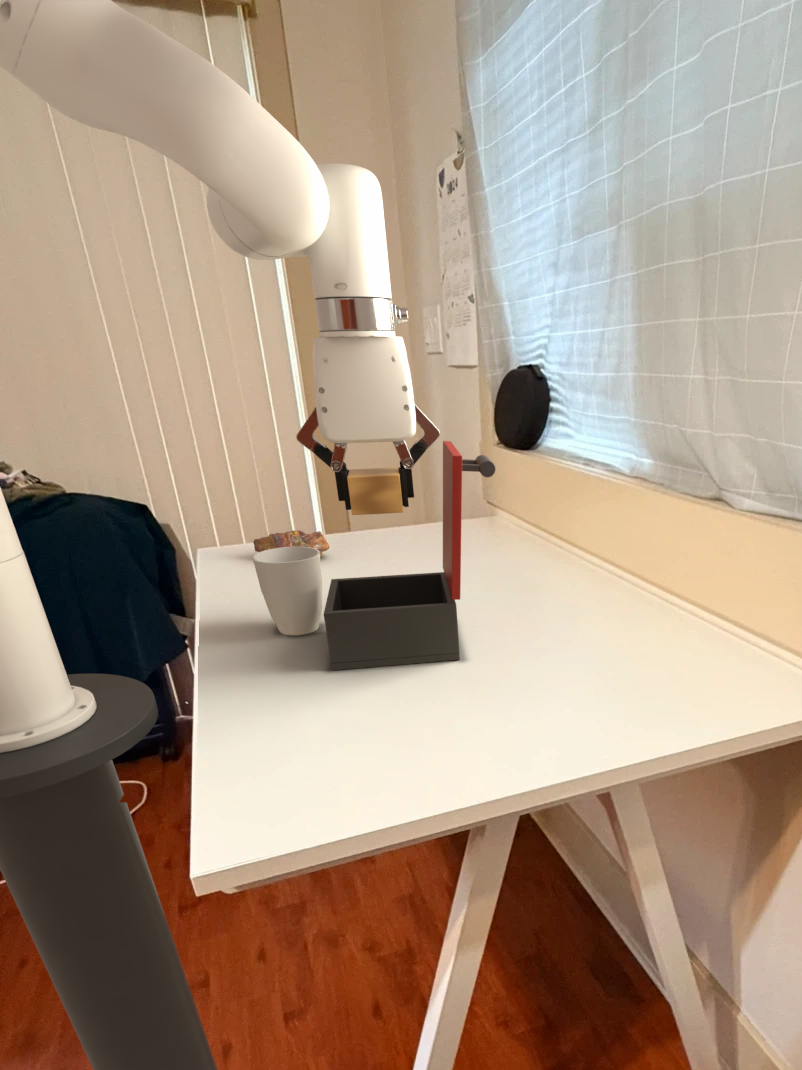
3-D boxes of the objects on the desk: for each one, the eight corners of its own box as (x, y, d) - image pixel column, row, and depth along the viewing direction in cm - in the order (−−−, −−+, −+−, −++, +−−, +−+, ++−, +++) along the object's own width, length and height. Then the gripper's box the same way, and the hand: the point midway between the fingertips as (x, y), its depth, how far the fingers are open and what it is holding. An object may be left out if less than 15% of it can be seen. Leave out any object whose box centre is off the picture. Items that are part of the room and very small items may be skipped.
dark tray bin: (332, 670, 82) (323, 613, 79) (338, 629, 94) (331, 579, 91) (460, 659, 84) (456, 604, 81) (450, 621, 96) (446, 571, 93)
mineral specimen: (262, 562, 118) (251, 523, 118) (261, 575, 125) (251, 539, 125) (334, 552, 123) (324, 514, 123) (329, 566, 130) (319, 530, 130)
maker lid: (452, 455, 74) (501, 457, 75) (442, 440, 86) (485, 442, 87) (451, 599, 81) (496, 599, 82) (442, 567, 93) (482, 568, 94)
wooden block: (352, 515, 77) (346, 476, 75) (354, 505, 81) (349, 469, 79) (403, 512, 77) (399, 474, 76) (402, 503, 82) (398, 467, 80)
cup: (300, 615, 99) (288, 543, 94) (343, 624, 96) (333, 551, 91) (254, 633, 93) (238, 557, 88) (298, 643, 89) (284, 566, 85)
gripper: (439, 322, 75) (451, 496, 84) (272, 323, 73) (302, 503, 81) (444, 319, 69) (457, 509, 77) (261, 320, 66) (294, 517, 75)
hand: (377, 504), depth 79 cm, fingers closed on wooden block, 5 cm apart
